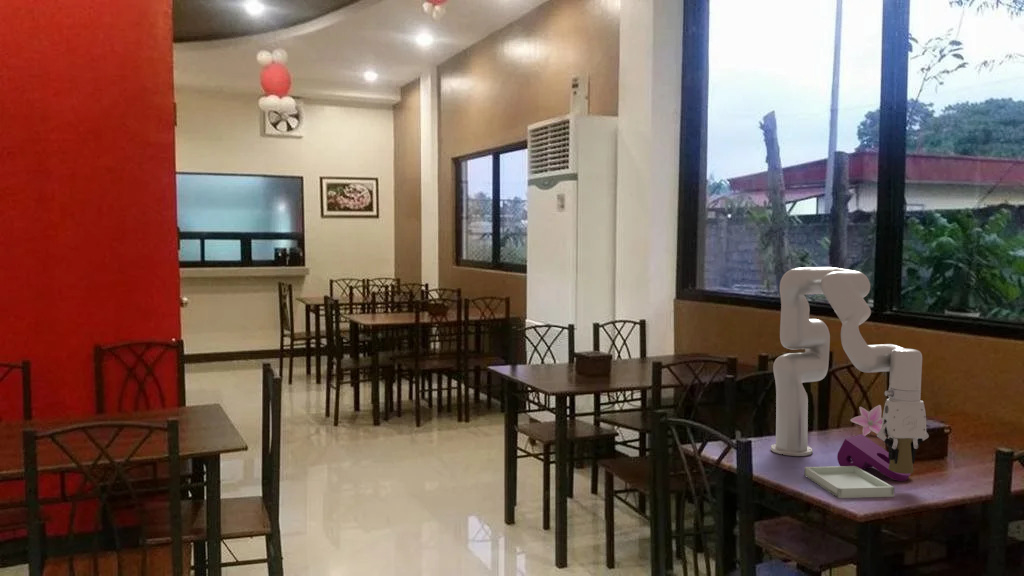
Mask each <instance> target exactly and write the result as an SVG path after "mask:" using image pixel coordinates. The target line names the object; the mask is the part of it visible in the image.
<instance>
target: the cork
mask: <svg viewBox="0 0 1024 576" xmlns="http://www.w3.org/2000/svg"><path fill="white" fill-rule="evenodd" d="M912 441H913V439H910V438H906V439H898V444H897V448H896V449H898V450H899V452H898V460H897V464H895V461H894V460H890V463H889V468H888V469H889V470H891V471H893V472H897V473H904V474H910V473H911V474H913V473H914V464H913V463H912V452H911V442H912ZM911 474H910V475H911Z"/></svg>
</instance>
